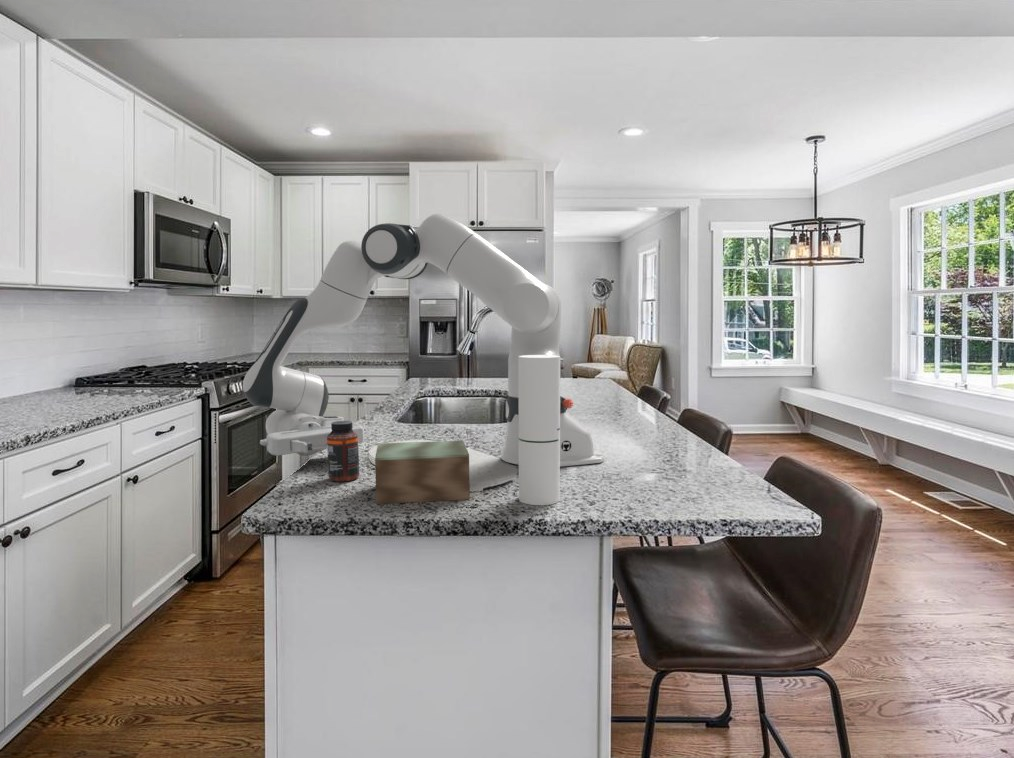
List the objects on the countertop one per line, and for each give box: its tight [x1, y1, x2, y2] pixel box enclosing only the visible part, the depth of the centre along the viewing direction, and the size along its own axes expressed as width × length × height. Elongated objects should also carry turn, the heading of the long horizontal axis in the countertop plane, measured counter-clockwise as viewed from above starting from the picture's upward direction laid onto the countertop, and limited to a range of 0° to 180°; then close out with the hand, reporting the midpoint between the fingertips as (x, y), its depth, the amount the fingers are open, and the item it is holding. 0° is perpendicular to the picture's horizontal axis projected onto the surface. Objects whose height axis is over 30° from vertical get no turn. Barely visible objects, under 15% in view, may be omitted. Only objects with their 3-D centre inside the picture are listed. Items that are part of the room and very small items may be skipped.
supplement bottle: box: [326, 420, 360, 483], centre depth 125 cm, size 6×6×11 cm
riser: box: [374, 440, 471, 505], centre depth 116 cm, size 16×12×8 cm
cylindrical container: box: [518, 355, 561, 506], centre depth 110 cm, size 7×7×25 cm
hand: (331, 444), depth 130 cm, fingers open, 8 cm apart
